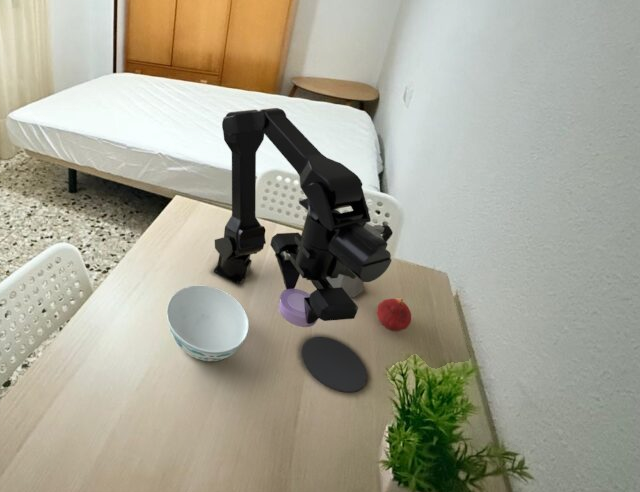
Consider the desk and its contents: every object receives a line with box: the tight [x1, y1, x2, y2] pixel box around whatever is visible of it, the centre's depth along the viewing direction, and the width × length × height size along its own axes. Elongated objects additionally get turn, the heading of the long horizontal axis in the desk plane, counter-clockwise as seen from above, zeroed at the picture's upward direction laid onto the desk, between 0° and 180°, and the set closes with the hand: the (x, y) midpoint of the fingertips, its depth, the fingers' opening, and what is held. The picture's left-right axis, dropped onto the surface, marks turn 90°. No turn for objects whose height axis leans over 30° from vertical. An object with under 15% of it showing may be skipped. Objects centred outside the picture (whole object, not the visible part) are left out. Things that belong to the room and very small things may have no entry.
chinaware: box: [166, 284, 250, 362], centre depth 76 cm, size 15×15×8 cm
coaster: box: [301, 336, 368, 393], centre depth 75 cm, size 11×11×1 cm
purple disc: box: [277, 288, 319, 328], centre depth 74 cm, size 7×7×2 cm
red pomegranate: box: [376, 296, 412, 332], centre depth 81 cm, size 6×6×8 cm
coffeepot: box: [326, 222, 393, 298], centre depth 90 cm, size 15×9×18 cm, turn 101°
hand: (299, 306), depth 74 cm, fingers closed on purple disc, 7 cm apart
